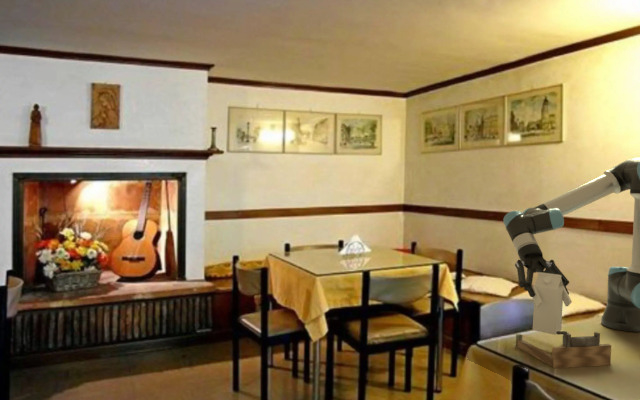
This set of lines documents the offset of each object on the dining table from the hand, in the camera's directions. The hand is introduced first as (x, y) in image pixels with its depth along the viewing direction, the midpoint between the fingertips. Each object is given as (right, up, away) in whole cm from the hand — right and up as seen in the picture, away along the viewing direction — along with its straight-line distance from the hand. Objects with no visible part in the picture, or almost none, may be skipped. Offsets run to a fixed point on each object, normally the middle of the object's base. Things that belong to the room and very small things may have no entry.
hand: (554, 304), depth 165 cm
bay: (+1, -16, -2) cm, 16 cm away
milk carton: (-1, -10, +3) cm, 10 cm away
